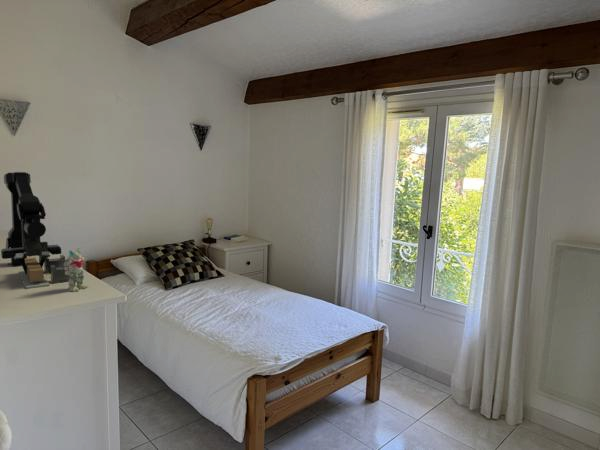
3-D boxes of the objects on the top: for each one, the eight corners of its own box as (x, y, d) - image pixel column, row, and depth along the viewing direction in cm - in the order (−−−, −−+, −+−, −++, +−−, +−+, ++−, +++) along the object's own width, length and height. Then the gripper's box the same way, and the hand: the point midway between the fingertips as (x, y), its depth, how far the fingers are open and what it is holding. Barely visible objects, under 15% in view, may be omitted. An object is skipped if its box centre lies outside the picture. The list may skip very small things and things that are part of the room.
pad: (18, 272, 162) (18, 271, 162) (39, 270, 167) (39, 269, 167) (26, 288, 143) (26, 287, 143) (49, 285, 148) (49, 284, 148)
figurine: (63, 293, 141) (61, 251, 139) (62, 287, 147) (60, 246, 145) (89, 290, 145) (87, 249, 143) (86, 284, 152) (85, 245, 149)
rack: (44, 271, 166) (43, 256, 165) (63, 269, 170) (63, 254, 169) (52, 283, 151) (52, 267, 150) (74, 280, 155) (73, 265, 154)
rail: (23, 268, 162) (22, 258, 161) (35, 267, 164) (34, 257, 164) (30, 282, 145) (30, 271, 145) (43, 280, 148) (43, 269, 147)
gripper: (2, 238, 140) (4, 282, 143) (63, 235, 152) (64, 275, 155) (-1, 233, 149) (2, 274, 151) (57, 230, 161) (59, 268, 163)
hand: (33, 273), depth 155 cm, fingers closed on rail, 4 cm apart
